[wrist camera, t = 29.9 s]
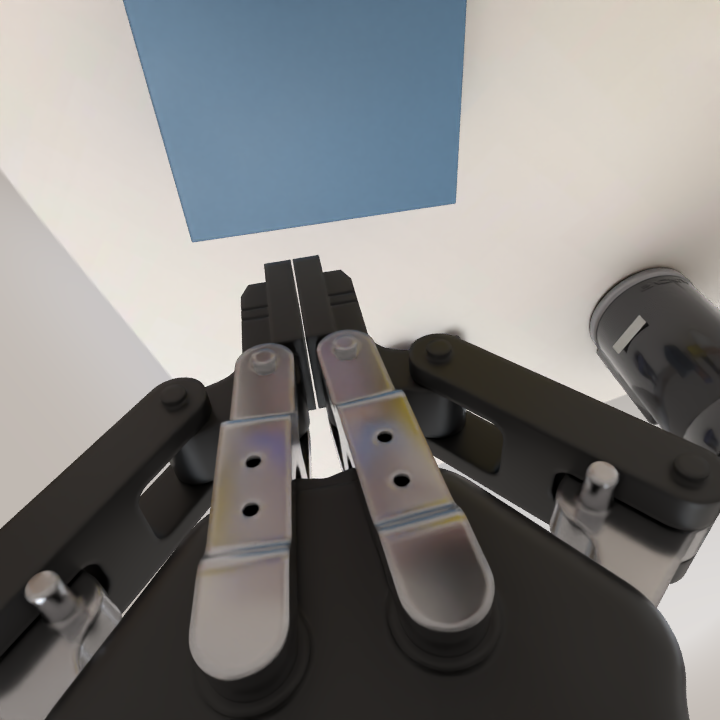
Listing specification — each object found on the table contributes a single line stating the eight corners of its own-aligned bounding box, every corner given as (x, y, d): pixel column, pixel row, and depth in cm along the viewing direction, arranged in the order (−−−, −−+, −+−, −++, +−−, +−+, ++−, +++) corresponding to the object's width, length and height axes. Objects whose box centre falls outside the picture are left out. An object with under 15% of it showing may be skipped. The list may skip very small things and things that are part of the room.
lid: (192, 235, 31) (192, 242, 30) (119, -22, 23) (117, -20, 22) (451, 197, 32) (455, 203, 32) (463, -57, 25) (470, -55, 24)
